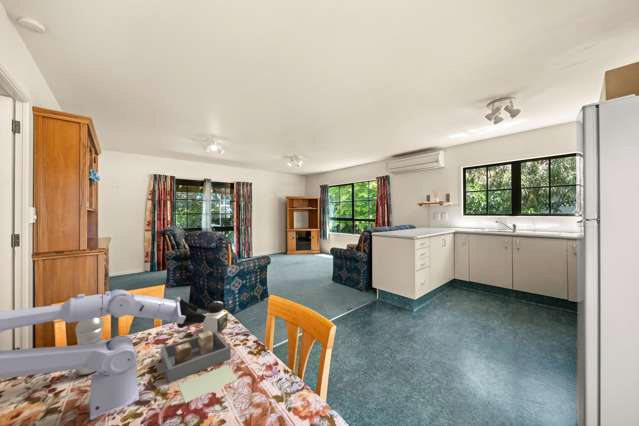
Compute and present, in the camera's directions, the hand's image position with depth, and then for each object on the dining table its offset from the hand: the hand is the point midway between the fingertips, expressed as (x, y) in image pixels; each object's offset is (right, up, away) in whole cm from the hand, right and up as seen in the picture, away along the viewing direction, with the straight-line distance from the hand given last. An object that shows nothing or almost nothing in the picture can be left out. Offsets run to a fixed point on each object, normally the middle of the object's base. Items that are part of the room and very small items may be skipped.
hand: (200, 314), depth 78 cm
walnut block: (-5, -16, -1) cm, 17 cm away
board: (+7, -17, -9) cm, 20 cm away
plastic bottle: (-34, -17, -3) cm, 38 cm away
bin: (-3, -17, +3) cm, 17 cm away
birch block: (-2, -16, +7) cm, 18 cm away
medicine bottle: (-6, -18, +24) cm, 30 cm away
